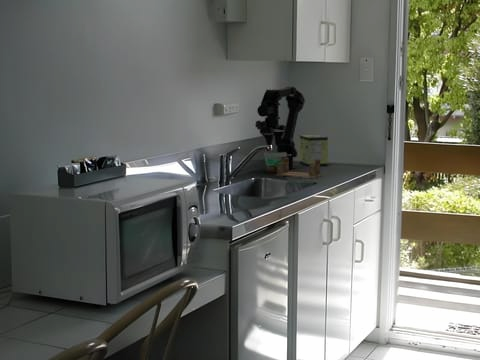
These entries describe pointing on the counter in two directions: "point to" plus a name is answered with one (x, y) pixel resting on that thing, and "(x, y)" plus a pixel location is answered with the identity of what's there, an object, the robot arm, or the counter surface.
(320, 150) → the protein box
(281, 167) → the bracket
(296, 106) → the robot arm
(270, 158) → the food container
